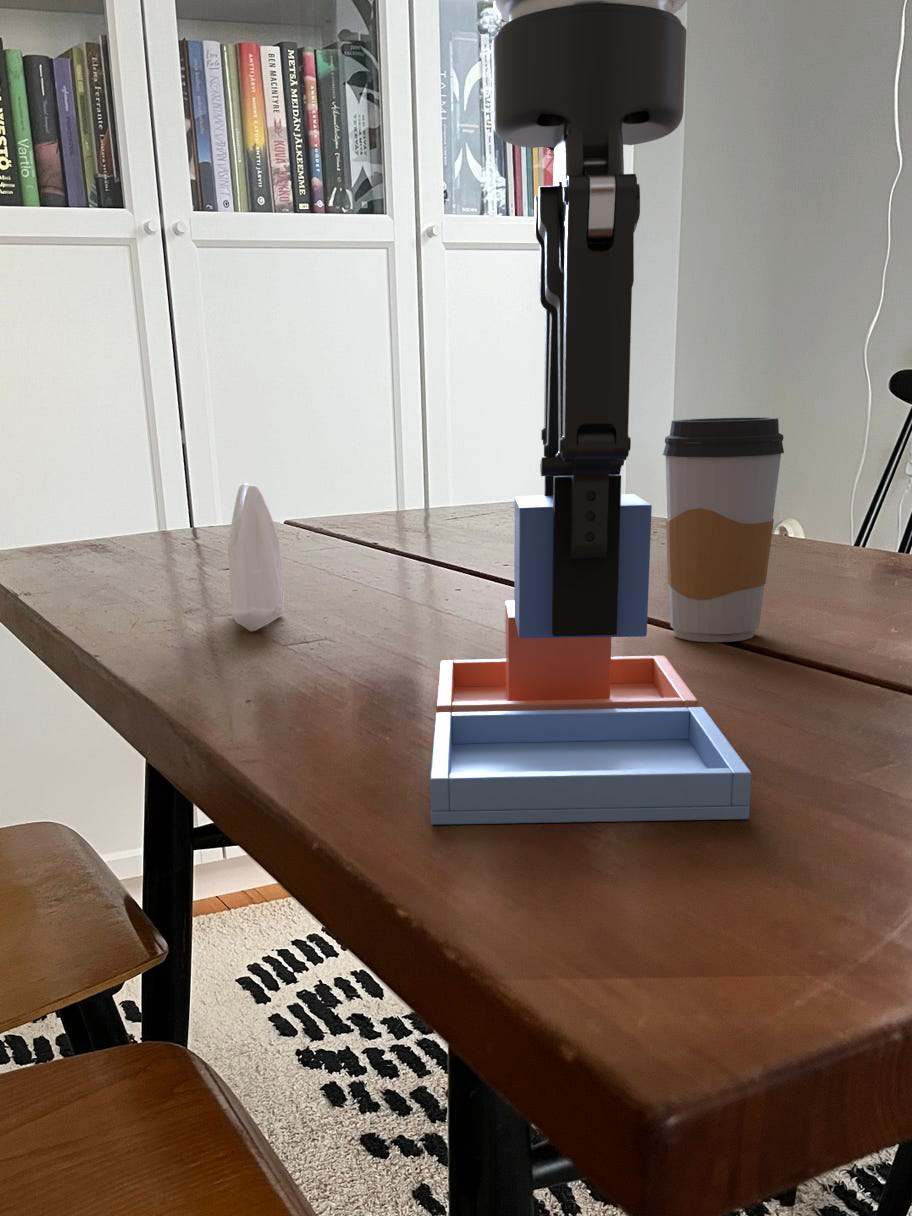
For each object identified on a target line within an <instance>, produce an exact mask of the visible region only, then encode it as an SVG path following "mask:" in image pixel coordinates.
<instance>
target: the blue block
mask: <svg viewBox="0 0 912 1216" xmlns="http://www.w3.org/2000/svg"><path fill="white" fill-rule="evenodd" d="M652 508H653V506H652V504H650V503H649V502H647V501H646V500H644V499H643V498H641V497H640V496H638V495H637V494H635V493H625V494H623V493H621V503H620V538H619V573H618V608H617V635H587V636H553V634H552V586H553V496H545V495H525V496H524V495H521V496H518V495H517V496H514V540H513V541H514V543H513V545H514V547H513V548H514V550H513V551H514V553H513V555H514V557H513V558H514V561H513V562H514V568H513V569H514V573H513V574H514V577H513V578H514V587H513V588H514V589H513V590H514V591H513V592H514V593H513V594H514V597H513V599H514V600H513V601H514V616H515V621H516V626H517V630H518V635H519V638H520V639H522V638H584V637H611V638H637V637H642V638H643V637H647V635H648V613H649V612H648V611H649V586H650V564H651V563H650V561H651V560H650V559H651V539H652V538H651V537H652V535H651V533H652V510H653V509H652Z"/></svg>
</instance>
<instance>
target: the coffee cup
mask: <svg viewBox="0 0 912 1216" xmlns="http://www.w3.org/2000/svg"><path fill="white" fill-rule="evenodd" d="M779 425H780V423H779V417H712V418H709V417H707V418H690V419H688V418H687V419H684V418H683V419H673V420H671V423H670V432H669V435H667V436H665V437H664V443H665V445H664V448H663V449H664V450H663V453H662V456H665V482H666V483H665V484H666V486H665V487H666V488H665V489H666V520H665V528H666V529H665V530H666V533H665V534H666V563H667V585H668V591H669V593H668V594H669V598H668V599H669V627H670V628H672V630H673V636H674V637H676V638H678V639H681V640H686V641H692V642H701V643H732V642H741V641H746V640H749V639H752V638H754V637H755V634H756V633H755V632H756V630H757V629H759V628H760V621H761V616H762V615H761V614H762V607H763V599H764V592H765V585H766V584H767V583H766V582H767V576H768V568H769V560H770V552H771V546H772V538H773V529H774V522H775V519H774V515H775V514H774V512H775V504H776V497H777V489H778V483H779V482H778V481H779V474H780V473H779V472H780V467H781V458H782V454H784V453H785V449H784V444H783V442H784V435H783V434H782V433H780V427H779Z"/></svg>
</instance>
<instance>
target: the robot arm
mask: <svg viewBox="0 0 912 1216" xmlns="http://www.w3.org/2000/svg"><path fill="white" fill-rule="evenodd" d="M687 1H688V0H493V1H492V3H493V11H494V12H495V13H496V14H497V16H498V17H499V18H500V20H503V21H504V22H505V23H504V24H503V25H502V26H501V27H500V28H499V29H498V31H497V33H496V35H494V37H493V38H492V41H491V92H492V93H491V111H492V112H491V115H492V117H491V118H492V119H491V120H492V128H493V131H494V132H495V134H496V136H497V137H498V138H500V139H501V140H502V141H503V142H505V143H508V144H510V145H513V146H517V147H522V148H528V149H535V148H547V149H548V150H550V151H552V152H553V155H554V156H553V174H552V175H553V177H552V185H539V186H538V195H535V196H534V227H533V229H534V233H535V237H536V240H537V242H538V243H539V273H538V275H539V276H538V295H539V299H540V304H541V306H542V308H544V309H545V311H544V316H545V317H544V390H543V391H544V401H543V405H544V406H543V407H544V408H543V411H544V412H543V423H544V424H543V427H542V429H541V431H540V432H541V433H540V436H541V437H540V439H541V440H540V441H542V445H543V456H542V457H541V460H540V463H539V469H540V471H539V472H540V477H544V496H553V586H552V634H553V636H587V635H617V608H618V573H619V538H620V503H621V494H622V475H621V470H622V467H623V466H624V465H625V461H627V459H628V457H629V454H630V451H631V448H632V447H631V445H632V441H631V440H632V439H631V437H630V436H629V415H630V382H631V381H630V379H631V377H630V376H631V374H630V373H631V342H632V341H631V339H632V338H631V337H632V335H631V334H632V300H633V299H632V297H633V286H634V282H635V261H634V260H635V253H634V252H635V244H634V243H635V241H634V240H635V239H634V238H635V235H634V234H635V233H636V229H637V226H638V223H639V220H640V215H641V187H640V183H638V177H637V174H636V173H625V162H624V158H625V157H624V145H625V146H635V145H640V144H645V143H649V142H652V141H656V140H660V139H662V138H665V137H666V136H668V135H670V134H671V133H673V132H674V131H676V130H677V129H678V127H679V126H680V124H681V122H682V120H683V117H684V107H685V106H684V103H685V81H686V79H685V78H686V58H687V57H686V56H687V55H686V54H687V33H688V32H687V28H686V27H685V26H684V25H683V23H682V20H680V18H679V17H678V16H677V15H675V13H677V12H679V11H680V10H681V9H682V8H683V6H684V5H685V4H686V3H687Z"/></svg>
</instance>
